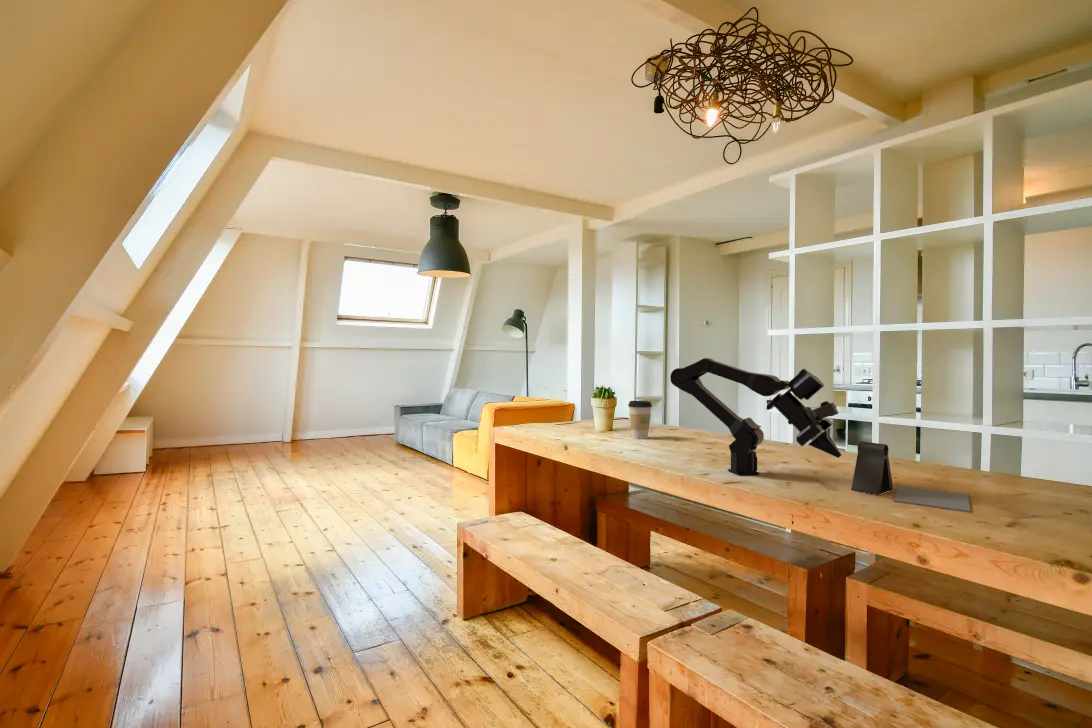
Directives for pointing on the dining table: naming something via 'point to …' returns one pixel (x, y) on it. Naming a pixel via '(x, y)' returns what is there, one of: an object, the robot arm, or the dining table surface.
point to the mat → (932, 498)
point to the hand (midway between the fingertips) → (839, 456)
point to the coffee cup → (640, 418)
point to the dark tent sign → (872, 469)
